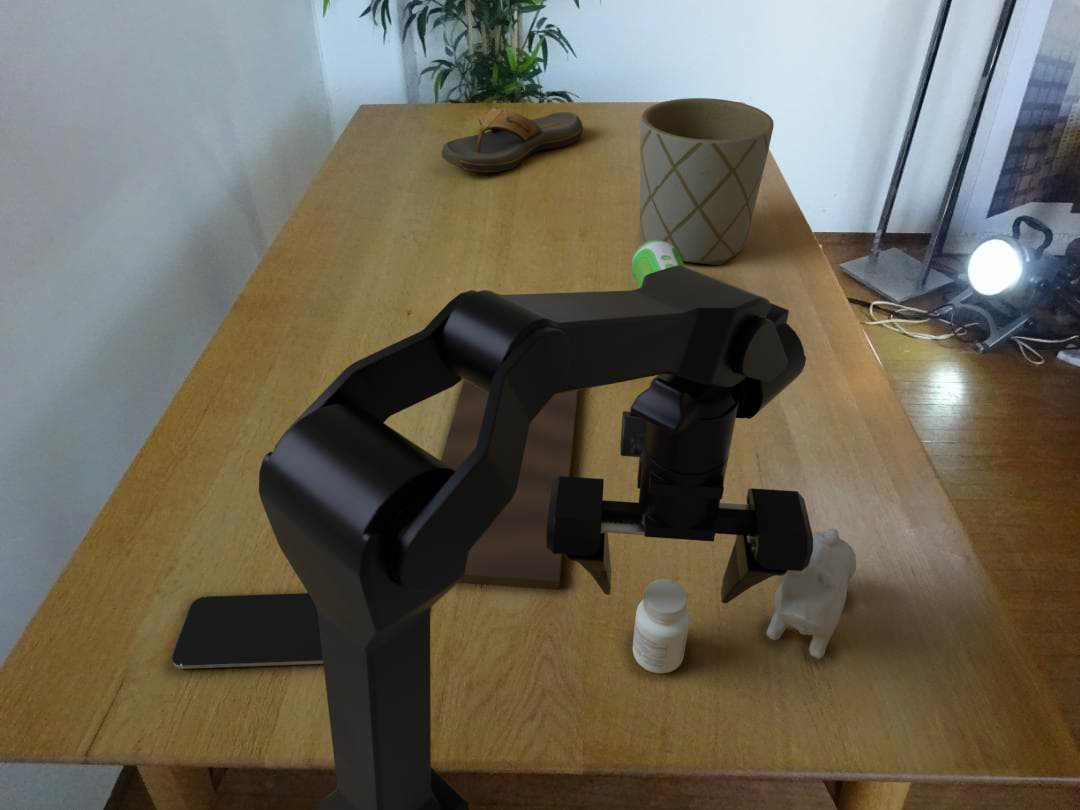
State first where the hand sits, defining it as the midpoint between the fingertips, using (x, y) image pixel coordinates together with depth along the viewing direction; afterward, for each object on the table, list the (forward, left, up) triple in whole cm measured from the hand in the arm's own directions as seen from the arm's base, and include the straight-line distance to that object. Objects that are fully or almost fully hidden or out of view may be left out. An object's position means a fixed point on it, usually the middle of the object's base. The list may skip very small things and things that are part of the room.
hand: (665, 594), depth 64 cm
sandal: (+114, +26, -8) cm, 117 cm away
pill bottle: (0, 0, -8) cm, 8 cm away
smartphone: (-1, +34, -8) cm, 35 cm away
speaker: (+56, -2, -8) cm, 57 cm away
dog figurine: (+4, -13, -8) cm, 16 cm away
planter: (+78, -7, -8) cm, 79 cm away
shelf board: (+26, +16, -8) cm, 32 cm away
